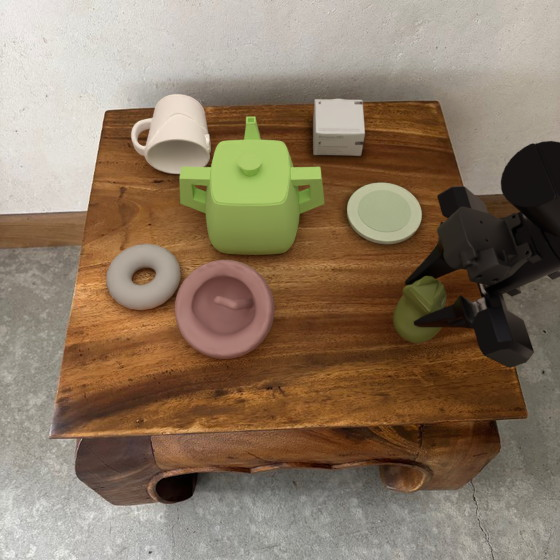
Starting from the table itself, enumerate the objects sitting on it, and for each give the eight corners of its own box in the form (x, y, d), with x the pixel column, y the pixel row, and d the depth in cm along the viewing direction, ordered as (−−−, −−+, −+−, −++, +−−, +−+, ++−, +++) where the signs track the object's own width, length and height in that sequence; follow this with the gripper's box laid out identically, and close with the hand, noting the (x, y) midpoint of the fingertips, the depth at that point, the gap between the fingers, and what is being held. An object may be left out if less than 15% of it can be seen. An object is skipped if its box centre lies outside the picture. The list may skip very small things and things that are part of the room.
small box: (312, 156, 88) (314, 132, 83) (312, 122, 92) (314, 97, 87) (361, 157, 87) (365, 133, 83) (359, 122, 92) (363, 98, 87)
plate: (422, 191, 84) (424, 187, 83) (418, 249, 78) (419, 246, 77) (351, 181, 85) (351, 177, 84) (341, 238, 79) (342, 234, 79)
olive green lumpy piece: (445, 333, 65) (468, 289, 56) (414, 359, 63) (433, 318, 55) (410, 301, 67) (428, 255, 59) (380, 326, 66) (393, 282, 57)
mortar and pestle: (172, 365, 69) (154, 325, 59) (196, 285, 75) (183, 236, 66) (266, 380, 68) (263, 342, 58) (282, 298, 74) (282, 250, 64)
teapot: (193, 164, 87) (179, 99, 76) (319, 164, 87) (324, 99, 76) (181, 262, 77) (164, 203, 66) (323, 262, 77) (330, 203, 66)
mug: (212, 131, 91) (207, 92, 84) (212, 173, 86) (206, 136, 79) (139, 134, 90) (128, 95, 84) (135, 177, 86) (123, 140, 79)
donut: (190, 302, 74) (173, 244, 79) (186, 290, 71) (169, 230, 76) (116, 324, 72) (104, 263, 77) (109, 312, 70) (97, 249, 74)
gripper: (484, 123, 50) (352, 207, 59) (549, 301, 41) (380, 368, 50) (536, 176, 57) (411, 244, 66) (602, 339, 47) (445, 391, 57)
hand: (411, 304), depth 60 cm, fingers closed on olive green lumpy piece, 5 cm apart
